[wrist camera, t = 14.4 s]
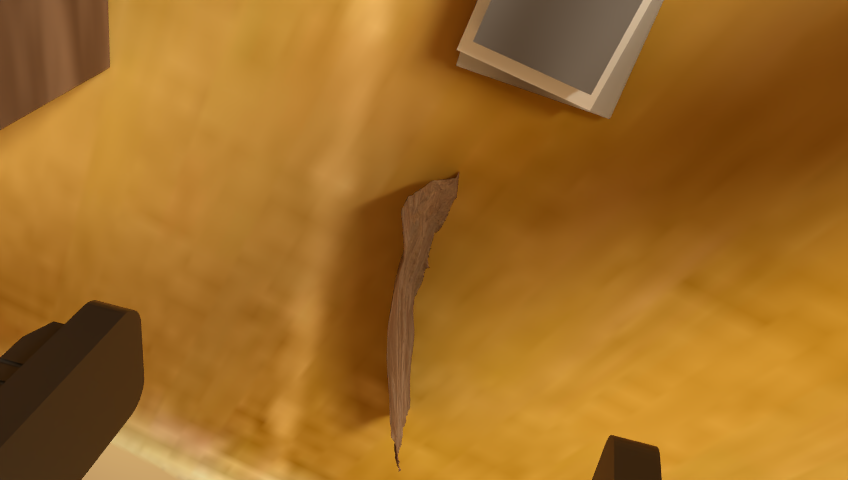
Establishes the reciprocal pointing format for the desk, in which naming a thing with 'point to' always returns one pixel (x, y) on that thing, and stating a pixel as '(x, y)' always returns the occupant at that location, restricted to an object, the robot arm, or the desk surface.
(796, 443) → the desk surface
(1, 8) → the walnut rack
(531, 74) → the white offcut
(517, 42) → the grey rectangular block
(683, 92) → the desk surface
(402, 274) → the wood plank
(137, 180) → the desk surface
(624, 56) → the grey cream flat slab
